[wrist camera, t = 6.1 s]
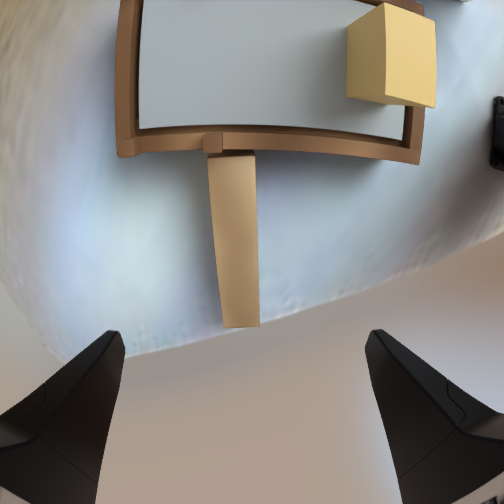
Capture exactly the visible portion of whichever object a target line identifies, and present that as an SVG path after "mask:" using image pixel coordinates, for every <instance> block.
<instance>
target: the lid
mask: <svg viewBox="0 0 504 504" xmlns="http://www.w3.org/2000/svg"><path fill="white" fill-rule="evenodd" d="M436 73H437V67H436V36H435V22H434V21H432V20H430V19H428V18H425V17H423V16H421V15H418V14H416V13H413V12H411V11H408V10H405V9H402V8H400V7H397V6H394V5H391V4H388V3H385V2H384V3H382V4H380V5H379V6H377V7H376V6H372V5H369V4H365V3H361V2H357V1H353V0H144V5H143V15H142V26H141V41H140V61H139V129H145V128H155V127H168V126H184V125H211V124H254V125H280V126H297V127H309V128H321V129H330V130H339V131H347V132H355V133H362V134H369V135H375V136H381V137H387V138H393V139H398V140H402V134H403V123H404V110H405V106H418V107H429V108H435V104H436Z"/></svg>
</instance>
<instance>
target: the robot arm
mask: <svg viewBox="0 0 504 504" xmlns="http://www.w3.org/2000/svg"><path fill="white" fill-rule="evenodd" d="M490 165H491V167H493V168H495V169H498V170H501V171H504V97H502V96H497V97H496V103H495V121H494V133H493V143H492V151H491V158H490ZM365 354H366V358H367V363H368V368H369V373H370V378H371V383H372V387H373V391H374V394H375V397H376V400H377V404H378V407H379V411H380V414H381V418H382V421H383V425H384V428H385V431H386V435H387V439H388V443H389V447H390V450H391V454H392V458H393V462H394V466H395V470H396V474H397V478H398V484H399V489H400V493H401V498H402V503H403V504H504V414H502V413H498V412H496V411H494V410H493V409H491V408H489V407H488V406H486V405H485V404H483V403H482V402H480V401H478V400H477V399H475V398H474V397H472V396H471V395H469V394H468V393H466V392H465V391H463V390H462V389H460V388H459V387H458V386H456V385H455V384H454V383H452V382H451V381H450V380H449V379H447V378H446V377H445V376H443V375H442V374H441V373H439V372H438V371H437V370H435V369H434V368H433V367H431V366H430V365H429V364H428V363H426V362H425V361H424V360H422V359H421V358H420V357H418V356H417V355H416V354H414V353H413V352H412V351H410V350H409V349H408V348H407V347H405V346H404V345H402V344H401V343H400V342H399V341H397V340H396V339H395V338H393V337H392V336H391V335H389V334H388V333H387V332H385V331H384V330H382V329H377V330H372V331H371V332H370V335H369V337H368V340H367V342H366V345H365ZM124 357H125V346H124V343H123V340H122V337H121V335H120V333H119V331H114V330H108V331H106V332H105V333H104V334H103V335H101V336H100V337H99V338H98V339H96V340H95V341H94V342H93V343H91V344H90V345H89V346H88V347H87V348H85V349H84V350H83V351H82V352H80V353H79V354H78V355H77V356H76V357H74V358H73V359H72V360H71V361H69V362H68V363H67V364H66V365H65V366H63V367H62V368H61V369H60V370H59V371H57V372H56V373H55V374H54V375H53V376H51V377H50V378H49V379H48V380H47V381H45V383H43V384H42V385H41V386H39V387H38V388H37V389H36V390H35V391H33V392H32V393H31V394H30V395H28V396H27V397H26V398H24V399H23V400H22V401H20V402H19V403H17V404H16V405H14V406H13V407H12V408H10V409H9V410H7V411H6V412H5V413H3V414H2V415H0V504H95V500H96V493H97V488H98V484H97V483H98V481H99V475H100V470H101V464H102V459H103V454H104V449H105V445H106V440H107V436H108V431H109V427H110V423H111V419H112V415H113V411H114V407H115V403H116V399H117V395H118V391H119V387H120V381H121V375H122V368H123V363H124Z"/></svg>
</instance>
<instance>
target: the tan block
mask: <svg viewBox="0 0 504 504" xmlns="http://www.w3.org/2000/svg"><path fill="white" fill-rule="evenodd" d="M207 167H208V180H209V192H210V204H211V215H212V226H213V236H214V247H215V256H216V266H217V275H218V284H219V292H220V301H221V309H222V317H223V325H224V328H245V327H260V314H259V274H258V238H257V203H256V171H255V155H254V152H253V149H223V150H222V153H210V155H209V156H208V158H207Z"/></svg>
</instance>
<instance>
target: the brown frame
mask: <svg viewBox="0 0 504 504" xmlns="http://www.w3.org/2000/svg"><path fill="white" fill-rule="evenodd" d="M353 1H357V2H361V3H365V4H369V5H372V6H376V7H377V6H379V5H380V4H382V3H384V2H385V3H388V4H391V5H394V6H397V7H400V8H402V9H405V10H408V11H411V12H413V13H416V14H418V15H421V16H423V17H424V9H423V5H422V4H419V3H417V2H414V1H412V0H353ZM143 5H144V0H121V2H120V10H119V19H118V29H117V42H116V60H115V126H116V146H117V155H118V157H119V158H125V157H134V156H137V155H139V154H141V153H145V152H159V151H176V150H203V153H222V150H223V149H259V150H286V151H304V152H318V153H330V154H341V155H350V156H359V157H368V158H375V159H383V160H390V161H397V162H403V163H409V164H415V165H419V162H420V155H421V147H422V138H423V128H424V116H425V107H418V106H405V110H404V123H403V134H402V140H398V139H393V138H387V137H381V136H375V135H369V134H362V133H355V132H347V131H339V130H330V129H321V128H309V127H297V126H280V125H254V124H211V125H184V126H168V127H155V128H145V129H139V61H140V41H141V26H142V15H143Z"/></svg>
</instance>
